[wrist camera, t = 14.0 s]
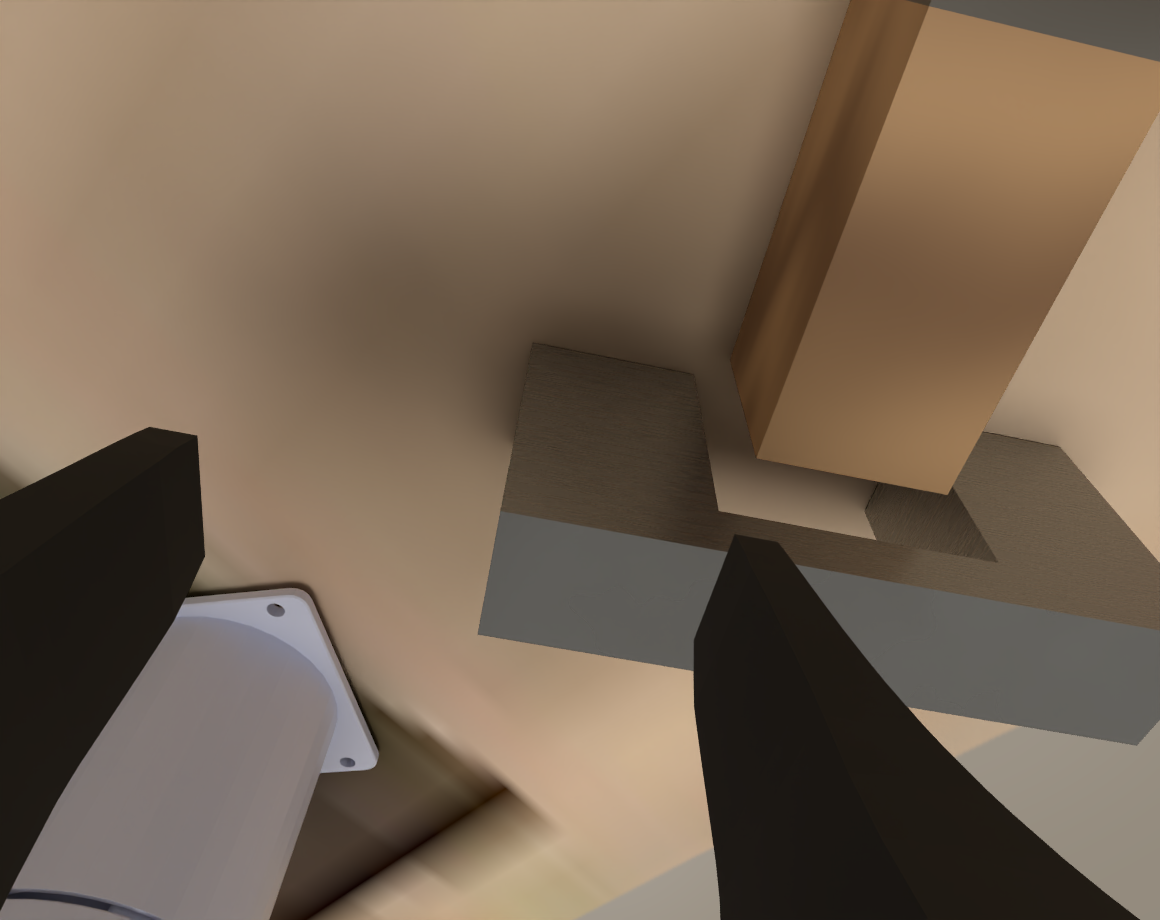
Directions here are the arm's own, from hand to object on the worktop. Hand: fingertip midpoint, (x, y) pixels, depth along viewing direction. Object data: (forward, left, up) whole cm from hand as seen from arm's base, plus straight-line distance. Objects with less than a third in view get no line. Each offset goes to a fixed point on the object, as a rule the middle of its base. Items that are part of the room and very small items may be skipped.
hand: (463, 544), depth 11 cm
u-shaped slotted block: (+6, -5, -9) cm, 12 cm away
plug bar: (+8, +2, -10) cm, 13 cm away
